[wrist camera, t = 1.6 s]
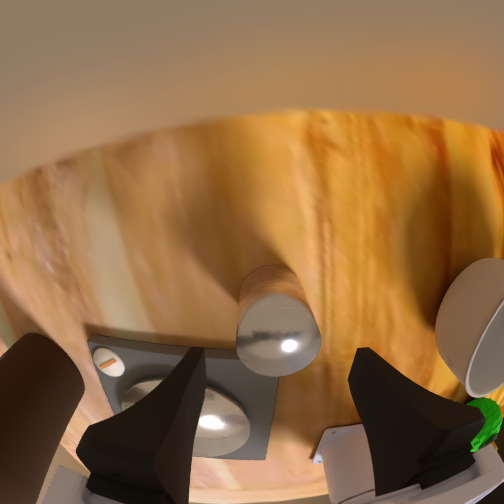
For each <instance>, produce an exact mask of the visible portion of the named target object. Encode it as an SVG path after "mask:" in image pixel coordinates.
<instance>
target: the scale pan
mask: <svg viewBox="0 0 504 504" xmlns="http://www.w3.org/2000/svg"><path fill="white" fill-rule="evenodd" d="M164 378H165V377H154V378H148V379H144V380H141V381H139V382H137V383H135V384H133V385H132V386H131V387H130V388H129V389H128V390H127V392H126V393H125V396H124V398H123V401H122V411H124V410H125V409H127V408H129V407H130V406H132V405H133V404H135V403H136V402H138V401H139V400H141V399H142V398H143V397H145V396H146V395H147V394H148V393H150V392H151V391H152V390H153V389H154V388H155V387H156V386H157V385H158V384H159V383H160V382H161V381H162V380H163V379H164ZM249 435H250V420H249V417H248V415H247V413H246V411H245V410H244V409H243V407H242V406H241V405H240V404H239V403H238V402H237V401H235V400H234V399H233V398H232V397H230V396H229V395H227V394H225V393H224V392H222V391H220V390H218V389H216V388H213V387H211V386H208V385H206V390H205V398H204V402H203V406H202V410H201V414H200V418H199V422H198V426H197V430H196V434H195V439H194V445H193V454H192V456H193V457H214V456H220V455H225V454H228V453H231V452H233V451H235V450H237V449H239V448H240V447H241V446H243V445H244V444H245V442H246V441H247V440H248V438H249Z"/></svg>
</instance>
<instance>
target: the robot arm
mask: <svg viewBox="0 0 504 504" xmlns="http://www.w3.org/2000/svg"><path fill="white" fill-rule="evenodd" d="M206 382H207V376H206V362H205V348H201V347H191V348H189V350H188V351H187V352H186V354H185V355H184V356H183V358H182V359H181V360H180V362H179V363H178V364H177V365H176V366H175V368H174V369H173V370H172V371H171V372H170V373H169V374H168V375H167V376H166V377H165V378H164V379H163V380H162V381H161V382H160V383H159V384H158V385H157V386H156V387H155V388H154V389H153V390H152V391H151V392H150V393H148V394H147V395H146V396H145V397H143V398H142V399H141V400H139V401H138V402H136V403H135V404H133V405H132V406H130V407H129V408H127V409H125V410H124V411H122V412H120V413H118V414H116V415H114V416H112V417H110V418H108V419H106V420H103V421H100V422H98V423H95V424H93V425H89V426H88V428H87V429H86V431H85V432H84V434H83V436H82V438H81V440H80V442H79V444H78V446H77V449H76V454H77V456H78V457H79V459H80V460H81V462H82V463H83V464H84V465H85V466H86V468H87V469H88V470H89V471H90V472H91V474H90V476H89V478H87V477H86V476H84V475H82V474H80V473H78V472H75V471H73V470H71V469H68V468H66V467H64V466H61V465H59V466H58V468H57V470H56V473H55V475H54V477H53V479H52V481H51V484H50V486H49V488H48V490H47V493H46V495H45V497H44V500H43V502H42V504H188V501H189V485H190V473H191V463H192V454H193V445H194V439H195V434H196V430H197V426H198V422H199V418H200V414H201V410H202V406H203V402H204V398H205V390H206ZM348 382H349V387H350V391H351V395H352V398H353V401H354V403H355V406H356V409H357V411H358V414H359V416H360V419H361V422H362V424H358V425H351V426H344V427H336V428H328V429H326V430H325V431H324V433H323V436H322V438H321V440H320V443H319V445H318V448H317V450H316V452H315V454H314V457H313V459H312V463H313V464H316V463H323V466H324V471H325V476H326V481H327V486H328V491H329V496H330V501H331V504H474V503H476V502H477V501H479V500H480V499H482V498H483V497H484V496H485V495H487V494H488V493H490V492H491V491H492V490H493V489H494V488H496V487H497V486H498V485H499V484H500V483H502V482H503V481H504V463H503V462H502V460H501V458H500V457H499V455H498V453H497V451H496V450H495V448H494V446H493V445H492V443H491V444H489V445H487V446H485V447H483V448H482V449H480V450H478V451H477V452H475V453H474V454H473V455H472V453H471V450H472V449H473V446H472V445H471V442H472V441H473V440H474V438H475V437H476V436H477V435H478V434H479V432H480V431H481V430H482V428H483V427H484V425H485V423H486V418H485V416H484V415H483V413H482V412H481V410H480V409H479V408H478V407H474V406H470V405H465V404H461V403H458V402H455V401H451V400H449V399H446V398H443V397H441V396H439V395H437V394H434V393H432V392H430V391H428V390H427V389H425V388H423V387H421V386H419V385H418V384H416V383H415V382H413V381H412V380H410V379H409V378H407V377H406V376H404V375H403V374H402V373H400V372H399V371H398V370H396V369H395V368H394V367H393V366H391V365H390V364H389V363H388V362H386V361H385V360H384V359H383V358H382V357H380V356H379V355H378V354H377V353H375V352H374V351H373V350H372V349H370V348H369V347H365V348H357V351H356V354H355V358H354V361H353V364H352V367H351V370H350V373H349V376H348Z"/></svg>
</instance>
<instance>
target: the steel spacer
mask: <svg viewBox="0 0 504 504" xmlns="http://www.w3.org/2000/svg"><path fill="white" fill-rule="evenodd" d="M320 346H321V334H320V331H319V328H318V326H317V323H316V320H315V318H314V315H313V313H312V310H311V307H310V305H309V302H308V300H307V297H306V295H305V292H304V290H303V287H302V284H301V282H300V280H299V278H298V277H297V276H296V274H295V273H293V272H292V271H291V270H289V269H287V268H285V267H282V266H278V265H267V266H263V267H260V268H257V269H255V270H254V271H252V272H251V273H250V274H249V275H248V276H247V277H246V278H245V279H244V281H243V283H242V285H241V289H240V299H239V312H238V324H237V337H236V351H237V354H238V357H239V358H240V360H241V362H242V363H243V364H244V365H245V366H246V367H247V368H249V369H250V370H252V371H254V372H256V373H258V374H261V375H265V376H275V377H276V376H286V375H290V374H293V373H296V372H298V371H300V370H302V369H303V368H305V367H306V366H308V365H309V364H310V363H311V362H312V361H313V360H314V358H315V357H316V356H317V354H318V352H319V349H320Z"/></svg>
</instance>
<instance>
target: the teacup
mask: <svg viewBox="0 0 504 504" xmlns="http://www.w3.org/2000/svg"><path fill="white" fill-rule="evenodd" d="M435 340H436V346H437V349H438V351H439V353H440V355H441V357H442V359H443V360H444V362H445V363H446V365H447V366H448V367H449V368H450V370H451V371H452V372H453V373H454V375H455V376H456V377H457V378H458V380H459V381H460V382H461V383H462V384H463V385H464V387H465V390H466V392H467V393H468V394H469V395H470V396H472V397H477V398H478V397H483V396H486V395H488V394H490V393H492V392H494V391H495V390H497V389H498V388H500V387H501V386H502V385H504V260H502V259H498V258H484V259H480V260H478V261H475V262H474V263H472V264H471V265H469V266H468V267H466V268H465V269H464V270H463V271H462V272H461V273H460V274H459V275H458V276H457V277H456V279H455V280H454V281H453V283H452V284H451V286H450V287H449V288H448V290H447V292H446V294H445V296H444V298H443V301H442V303H441V305H440V308H439V311H438V314H437V319H436V325H435Z"/></svg>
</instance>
